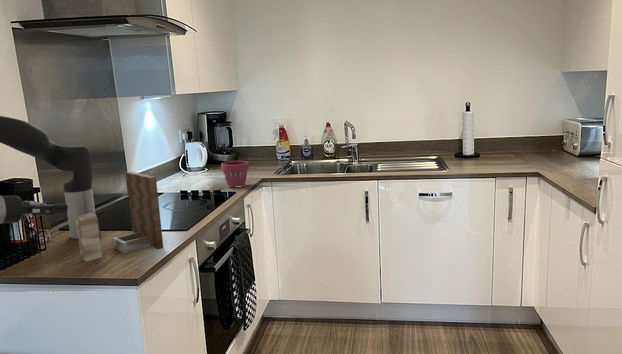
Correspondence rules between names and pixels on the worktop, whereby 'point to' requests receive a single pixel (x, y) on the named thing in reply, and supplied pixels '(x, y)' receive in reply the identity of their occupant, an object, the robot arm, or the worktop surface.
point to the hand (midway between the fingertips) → (60, 207)
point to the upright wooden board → (141, 215)
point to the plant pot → (235, 172)
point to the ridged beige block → (89, 237)
